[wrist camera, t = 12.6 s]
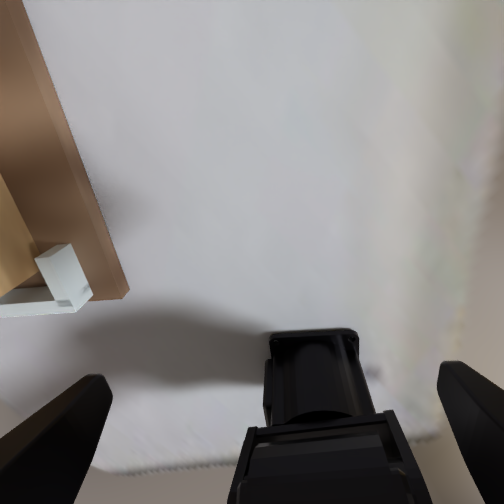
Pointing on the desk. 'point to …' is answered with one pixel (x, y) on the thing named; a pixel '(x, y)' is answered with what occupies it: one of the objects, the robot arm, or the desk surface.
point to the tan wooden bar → (14, 244)
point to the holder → (48, 185)
